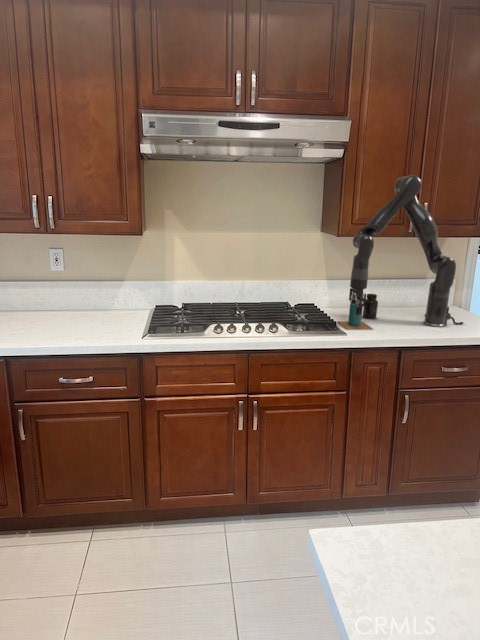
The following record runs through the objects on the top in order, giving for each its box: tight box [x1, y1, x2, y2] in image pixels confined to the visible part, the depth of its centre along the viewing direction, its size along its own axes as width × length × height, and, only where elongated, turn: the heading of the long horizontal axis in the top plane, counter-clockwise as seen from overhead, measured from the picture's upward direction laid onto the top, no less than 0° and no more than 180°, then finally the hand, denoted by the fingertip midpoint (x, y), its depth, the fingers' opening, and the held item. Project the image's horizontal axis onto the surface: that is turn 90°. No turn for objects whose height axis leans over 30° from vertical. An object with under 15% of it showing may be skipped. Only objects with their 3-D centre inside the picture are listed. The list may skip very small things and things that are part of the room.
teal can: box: [347, 302, 364, 326], centre depth 218 cm, size 6×6×10 cm
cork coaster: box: [337, 320, 373, 330], centre depth 219 cm, size 12×12×1 cm
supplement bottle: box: [362, 293, 379, 320], centre depth 234 cm, size 7×7×12 cm
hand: (355, 312), depth 218 cm, fingers open, 7 cm apart
